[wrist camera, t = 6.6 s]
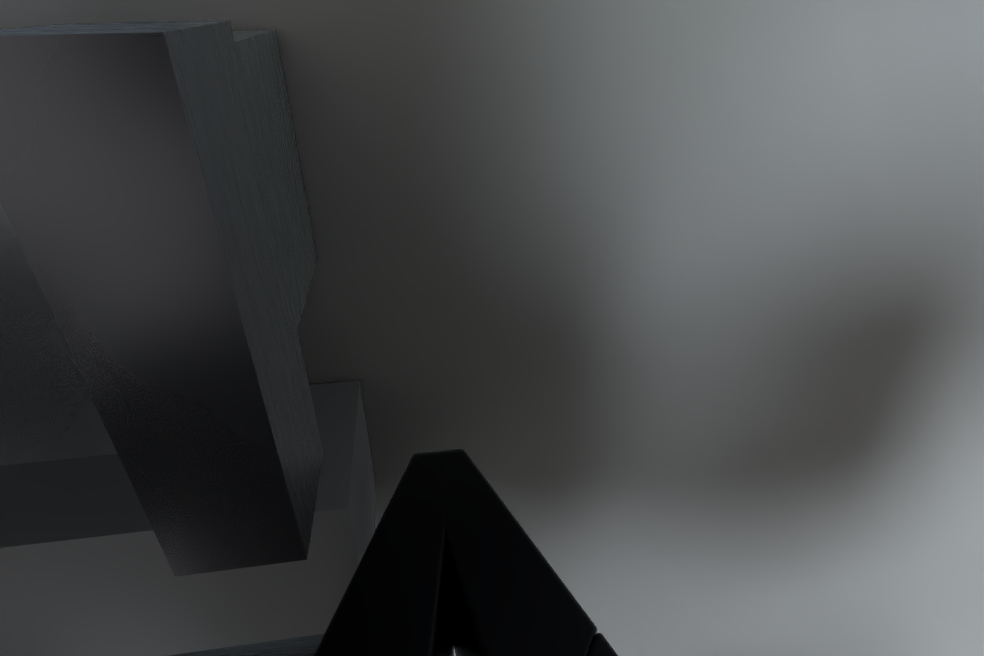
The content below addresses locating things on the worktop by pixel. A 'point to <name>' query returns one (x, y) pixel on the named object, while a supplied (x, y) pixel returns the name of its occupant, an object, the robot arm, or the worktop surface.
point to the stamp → (145, 570)
